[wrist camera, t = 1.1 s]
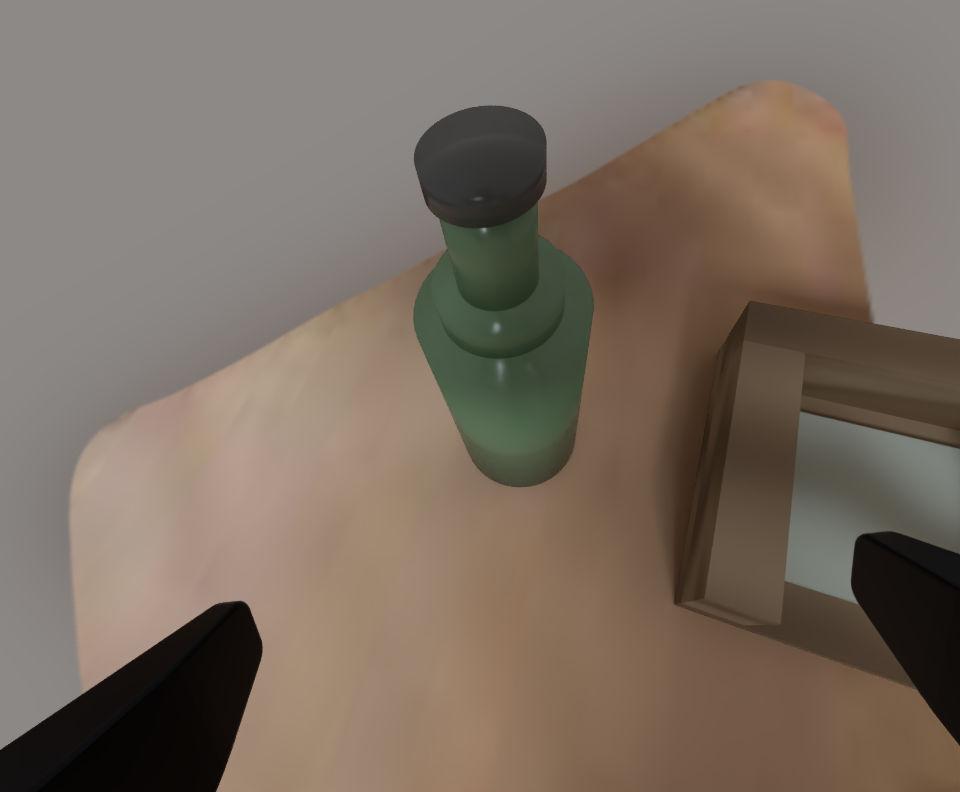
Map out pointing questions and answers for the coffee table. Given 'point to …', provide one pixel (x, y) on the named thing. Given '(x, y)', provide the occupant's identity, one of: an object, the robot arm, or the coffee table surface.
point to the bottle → (501, 297)
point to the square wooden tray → (819, 474)
